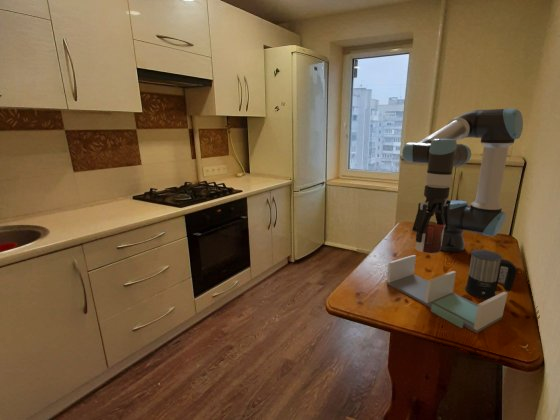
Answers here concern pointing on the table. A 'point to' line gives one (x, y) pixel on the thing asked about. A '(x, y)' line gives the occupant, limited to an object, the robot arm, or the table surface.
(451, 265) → the table surface
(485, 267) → the milk frother
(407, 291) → the rack
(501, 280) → the mug
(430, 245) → the mug
